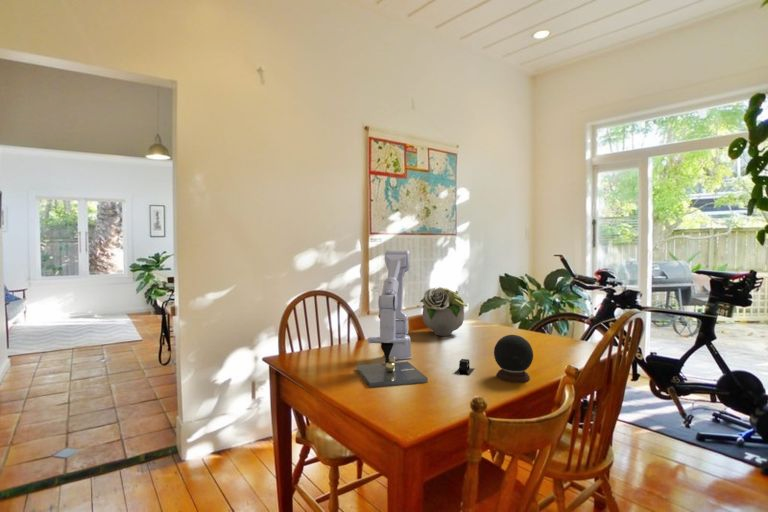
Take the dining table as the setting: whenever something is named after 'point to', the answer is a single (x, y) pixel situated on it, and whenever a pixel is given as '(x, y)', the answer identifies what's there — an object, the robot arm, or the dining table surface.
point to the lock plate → (390, 374)
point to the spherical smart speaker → (513, 358)
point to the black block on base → (464, 367)
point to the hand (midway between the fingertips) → (387, 363)
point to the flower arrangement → (442, 310)
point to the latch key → (390, 364)
